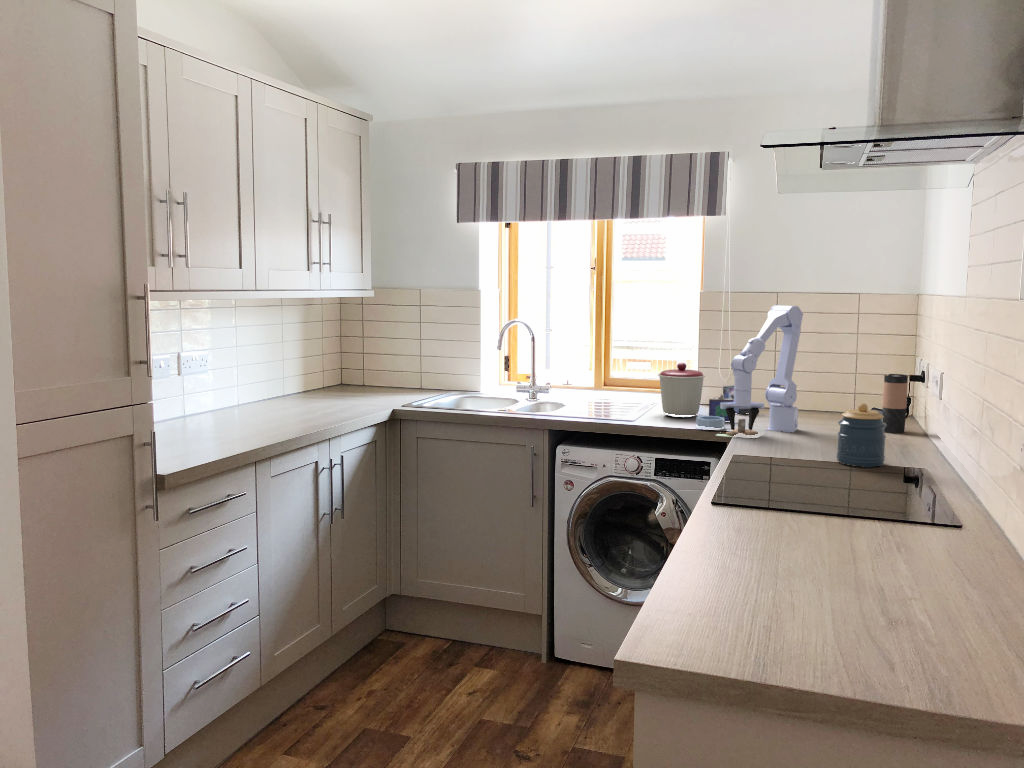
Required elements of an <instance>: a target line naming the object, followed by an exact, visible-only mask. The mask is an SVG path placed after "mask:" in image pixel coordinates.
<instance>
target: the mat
mask: <svg viewBox="0 0 1024 768" xmlns="http://www.w3.org/2000/svg"><path fill="white" fill-rule="evenodd" d="M715 436H716V437H717V436H718V437H727V438H734V437H733V436H730V435H726V434H719V433H717V434H715Z"/></svg>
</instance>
